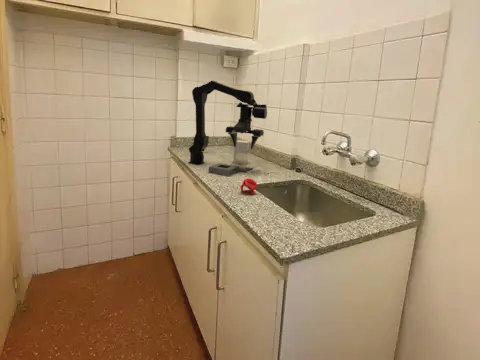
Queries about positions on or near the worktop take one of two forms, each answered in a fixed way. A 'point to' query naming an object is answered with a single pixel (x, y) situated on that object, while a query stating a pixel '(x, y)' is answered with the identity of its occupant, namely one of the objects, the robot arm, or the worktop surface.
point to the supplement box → (241, 148)
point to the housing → (223, 169)
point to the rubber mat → (245, 169)
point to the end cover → (242, 160)
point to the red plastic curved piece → (249, 185)
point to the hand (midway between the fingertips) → (243, 148)
